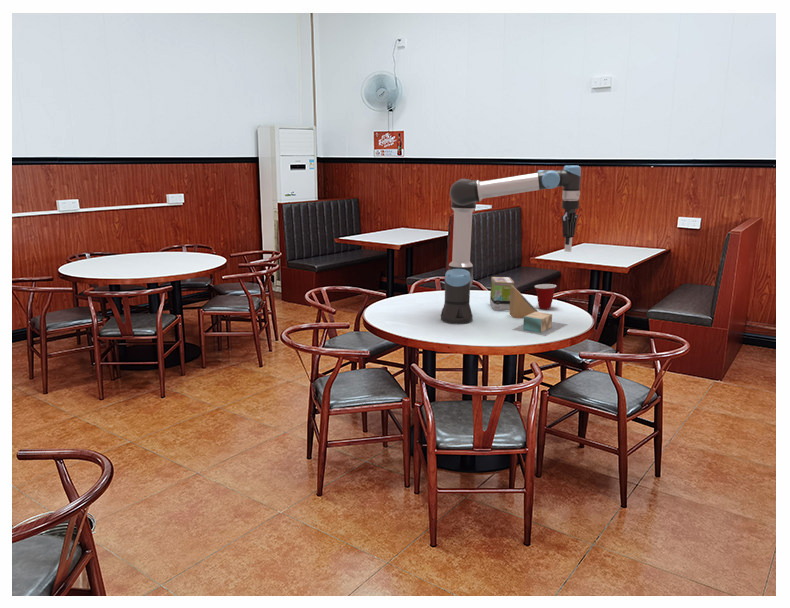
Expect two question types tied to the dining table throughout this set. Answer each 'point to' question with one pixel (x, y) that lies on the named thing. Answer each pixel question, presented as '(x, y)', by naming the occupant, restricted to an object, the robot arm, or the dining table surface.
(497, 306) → the tea box
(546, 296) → the plastic cup
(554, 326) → the grey mat
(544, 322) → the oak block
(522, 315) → the sandwich container
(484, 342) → the dining table surface
